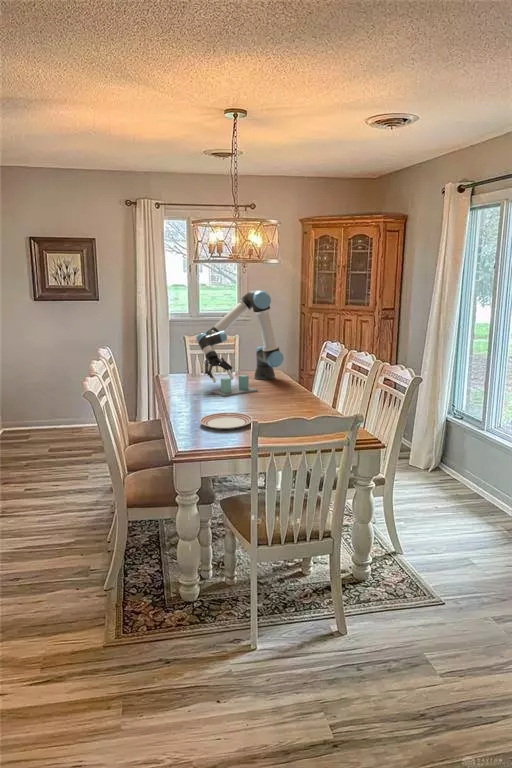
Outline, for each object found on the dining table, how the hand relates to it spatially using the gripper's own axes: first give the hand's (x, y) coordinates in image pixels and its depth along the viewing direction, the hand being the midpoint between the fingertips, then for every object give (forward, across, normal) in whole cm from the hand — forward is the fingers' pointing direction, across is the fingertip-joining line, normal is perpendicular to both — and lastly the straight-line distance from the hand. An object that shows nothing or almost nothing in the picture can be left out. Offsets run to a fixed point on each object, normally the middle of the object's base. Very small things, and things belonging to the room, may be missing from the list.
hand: (224, 380), depth 380 cm
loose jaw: (+7, 0, -5) cm, 9 cm away
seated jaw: (+8, -14, -5) cm, 17 cm away
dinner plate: (+49, +42, +37) cm, 74 cm away
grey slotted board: (+8, -7, -5) cm, 11 cm away
